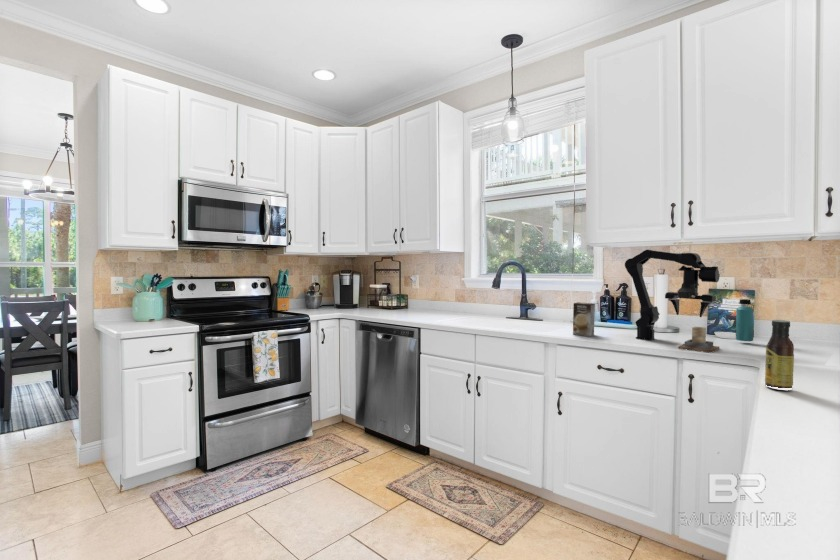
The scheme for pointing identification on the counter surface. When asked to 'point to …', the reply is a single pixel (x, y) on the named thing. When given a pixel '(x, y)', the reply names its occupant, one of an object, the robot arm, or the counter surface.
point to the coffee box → (583, 319)
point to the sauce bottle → (779, 356)
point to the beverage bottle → (744, 322)
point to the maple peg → (699, 335)
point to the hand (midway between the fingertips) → (688, 316)
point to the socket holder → (698, 346)
